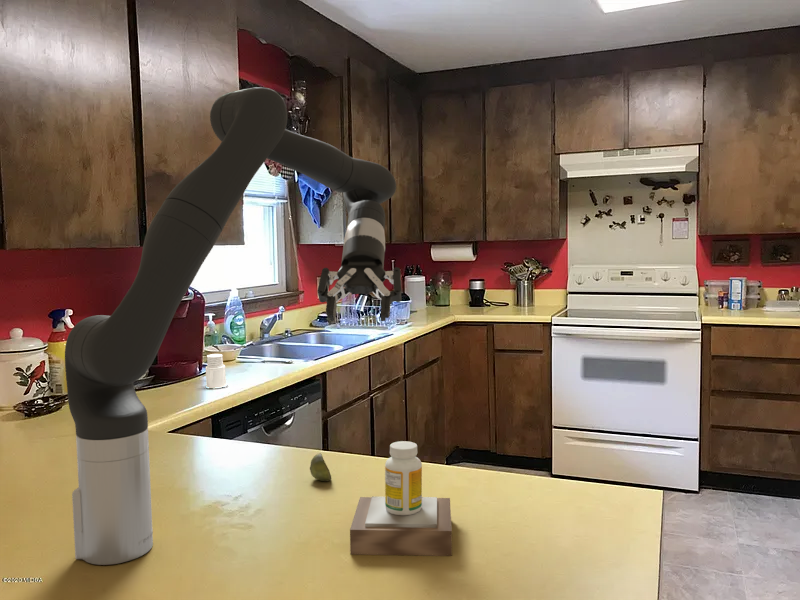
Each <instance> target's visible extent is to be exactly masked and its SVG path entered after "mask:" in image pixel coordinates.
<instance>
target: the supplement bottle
mask: <svg viewBox="0 0 800 600" xmlns="http://www.w3.org/2000/svg"><path fill="white" fill-rule="evenodd" d="M417 454H418V445H417V443H415V442H412V441H408V440H407V441H405V440H404V441H403V440H400V441H399V440H398V441H395V442H392V443H391V444H390V445H389V455H390V457H388V458H387V459H386V460H385V466H384V471H385V472H384V475H385V476H384V480H385V481H384V482H385V483H384V489H385V490H384V491H385V494H384V497H385V507H386V510H387V511H388V512H389V513H391V514H394V515H403V516H404V515H412V514H415V513H417V512H419V511H420V510H421V507H422V497H423V496H422V495H423V493H422V492H423V489H422V488H423V487H422V486H423V483H422V482H423V479H422V478H423V473H422V472H423V465H422V461H421V459H420V458H419V457H417Z"/></svg>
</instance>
